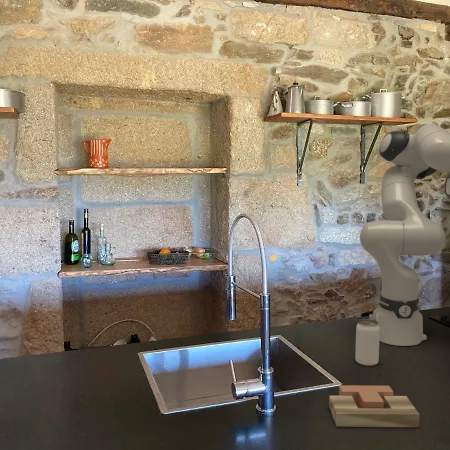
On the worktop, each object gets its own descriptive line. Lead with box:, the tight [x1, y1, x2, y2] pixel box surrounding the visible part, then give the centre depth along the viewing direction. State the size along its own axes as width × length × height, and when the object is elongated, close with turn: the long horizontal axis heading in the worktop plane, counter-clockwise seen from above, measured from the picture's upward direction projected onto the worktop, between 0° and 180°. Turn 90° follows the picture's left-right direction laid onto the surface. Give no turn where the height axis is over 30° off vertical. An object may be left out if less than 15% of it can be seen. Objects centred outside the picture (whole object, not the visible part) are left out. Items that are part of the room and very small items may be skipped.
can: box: [354, 318, 380, 367], centre depth 144 cm, size 6×6×12 cm
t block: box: [338, 384, 394, 408], centre depth 116 cm, size 8×12×4 cm
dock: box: [328, 395, 421, 428], centre depth 113 cm, size 8×18×3 cm, turn 89°
